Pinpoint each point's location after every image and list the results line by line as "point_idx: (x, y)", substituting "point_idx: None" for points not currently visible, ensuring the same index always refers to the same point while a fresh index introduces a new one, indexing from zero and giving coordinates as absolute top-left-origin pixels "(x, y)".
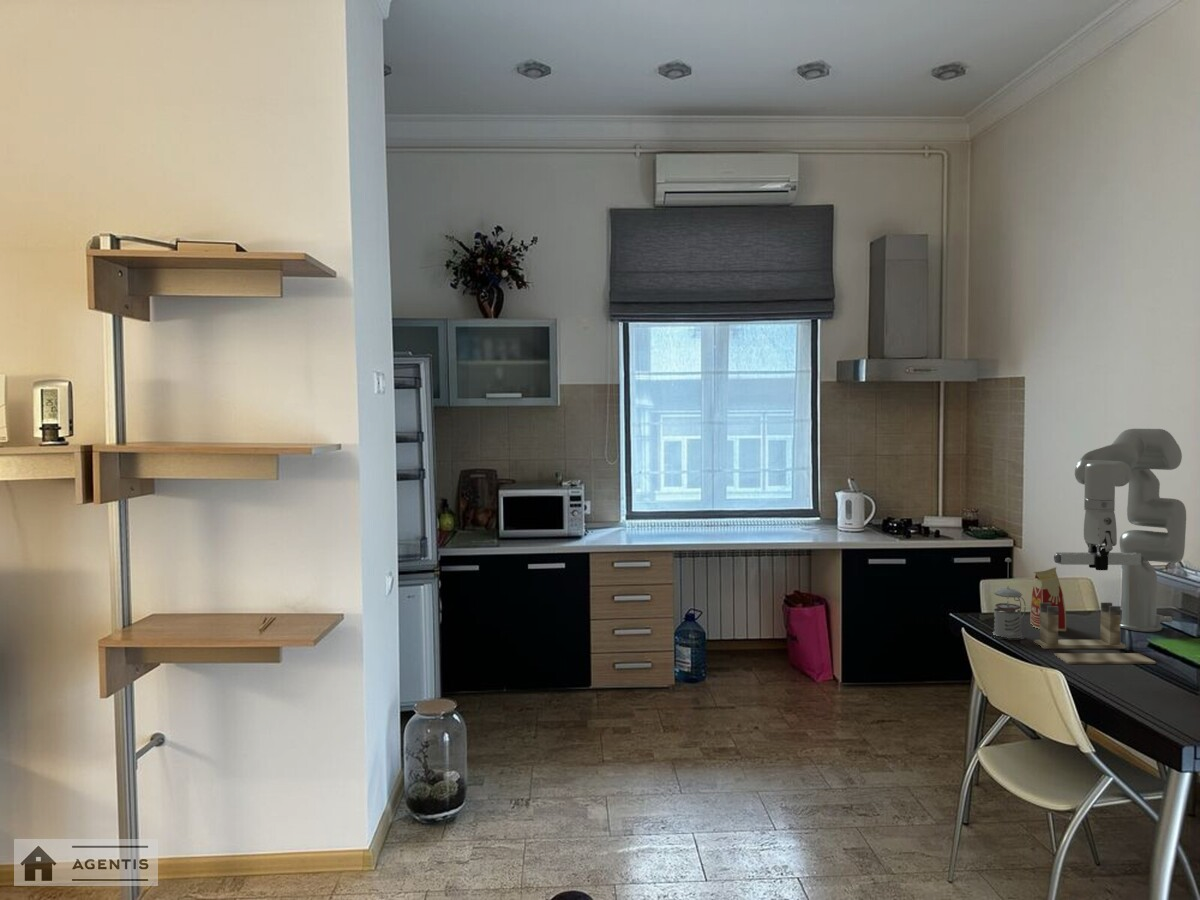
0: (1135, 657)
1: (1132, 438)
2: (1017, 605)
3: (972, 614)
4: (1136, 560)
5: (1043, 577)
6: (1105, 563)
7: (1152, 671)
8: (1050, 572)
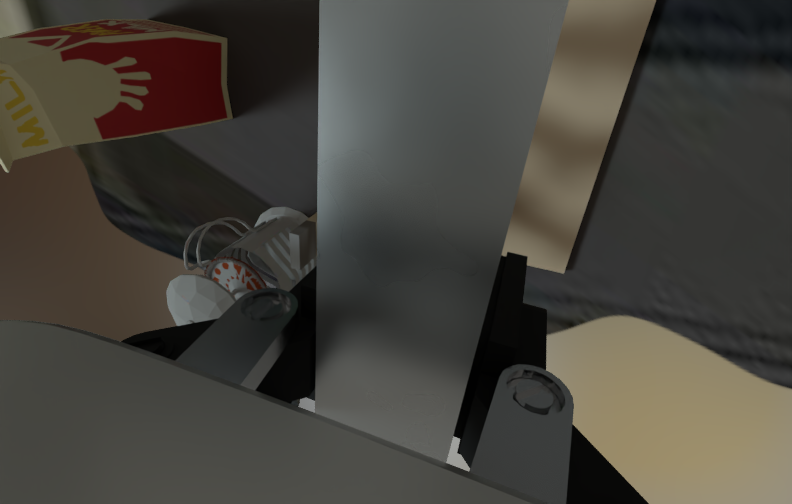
0: (590, 3)
1: None
2: (223, 257)
3: (104, 203)
4: None
5: (27, 129)
6: (542, 338)
7: (758, 42)
8: None
